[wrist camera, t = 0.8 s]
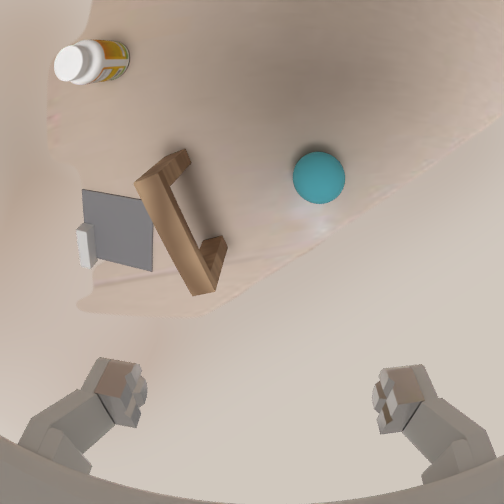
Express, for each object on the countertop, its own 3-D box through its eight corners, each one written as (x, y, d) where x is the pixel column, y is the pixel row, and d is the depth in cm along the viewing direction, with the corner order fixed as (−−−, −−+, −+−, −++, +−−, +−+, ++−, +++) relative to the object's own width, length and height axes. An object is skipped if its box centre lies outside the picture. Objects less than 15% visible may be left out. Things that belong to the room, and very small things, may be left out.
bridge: (185, 148, 37) (157, 173, 28) (227, 247, 44) (215, 291, 36) (164, 156, 37) (133, 183, 29) (208, 252, 45) (192, 296, 36)
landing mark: (82, 189, 40) (82, 189, 40) (154, 202, 41) (153, 202, 41) (88, 254, 47) (87, 255, 47) (152, 270, 47) (151, 271, 47)
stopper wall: (83, 222, 44) (75, 229, 41) (94, 224, 44) (86, 232, 42) (87, 258, 47) (80, 266, 45) (97, 260, 47) (90, 269, 45)
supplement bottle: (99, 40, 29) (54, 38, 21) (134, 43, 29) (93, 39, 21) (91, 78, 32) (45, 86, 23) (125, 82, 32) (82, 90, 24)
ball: (298, 141, 35) (301, 153, 30) (346, 153, 35) (356, 168, 30) (286, 186, 38) (287, 205, 33) (332, 197, 38) (340, 218, 33)
